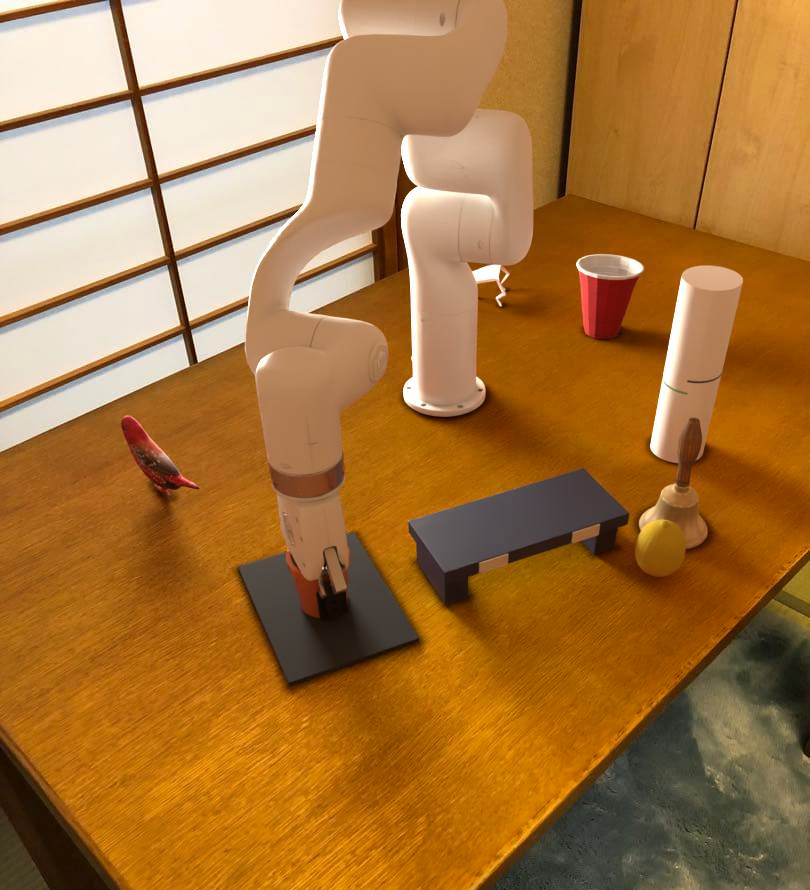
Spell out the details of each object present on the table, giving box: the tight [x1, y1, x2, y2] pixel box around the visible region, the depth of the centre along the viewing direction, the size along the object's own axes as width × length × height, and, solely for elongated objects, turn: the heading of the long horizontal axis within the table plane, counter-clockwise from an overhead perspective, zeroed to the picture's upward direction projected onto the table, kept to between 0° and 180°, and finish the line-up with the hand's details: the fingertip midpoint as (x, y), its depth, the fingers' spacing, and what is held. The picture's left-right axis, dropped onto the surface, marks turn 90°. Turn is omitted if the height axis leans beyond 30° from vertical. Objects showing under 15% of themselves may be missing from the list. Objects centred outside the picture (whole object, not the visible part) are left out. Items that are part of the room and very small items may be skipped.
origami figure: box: [472, 264, 511, 307], centre depth 158 cm, size 12×8×5 cm
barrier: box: [407, 467, 630, 605], centre depth 104 cm, size 10×24×6 cm, turn 114°
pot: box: [286, 547, 351, 618], centre depth 98 cm, size 7×7×7 cm
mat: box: [237, 531, 420, 687], centre depth 101 cm, size 20×15×1 cm
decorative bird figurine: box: [120, 415, 201, 498], centre depth 114 cm, size 3×18×10 cm, turn 45°
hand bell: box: [638, 418, 709, 550], centre depth 104 cm, size 8×8×16 cm
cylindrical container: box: [649, 265, 744, 464], centre depth 114 cm, size 7×7×25 cm
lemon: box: [634, 520, 687, 578], centre depth 101 cm, size 6×6×8 cm
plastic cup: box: [575, 253, 645, 340], centre depth 145 cm, size 11×11×12 cm
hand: (323, 595), depth 100 cm, fingers closed on pot, 6 cm apart
